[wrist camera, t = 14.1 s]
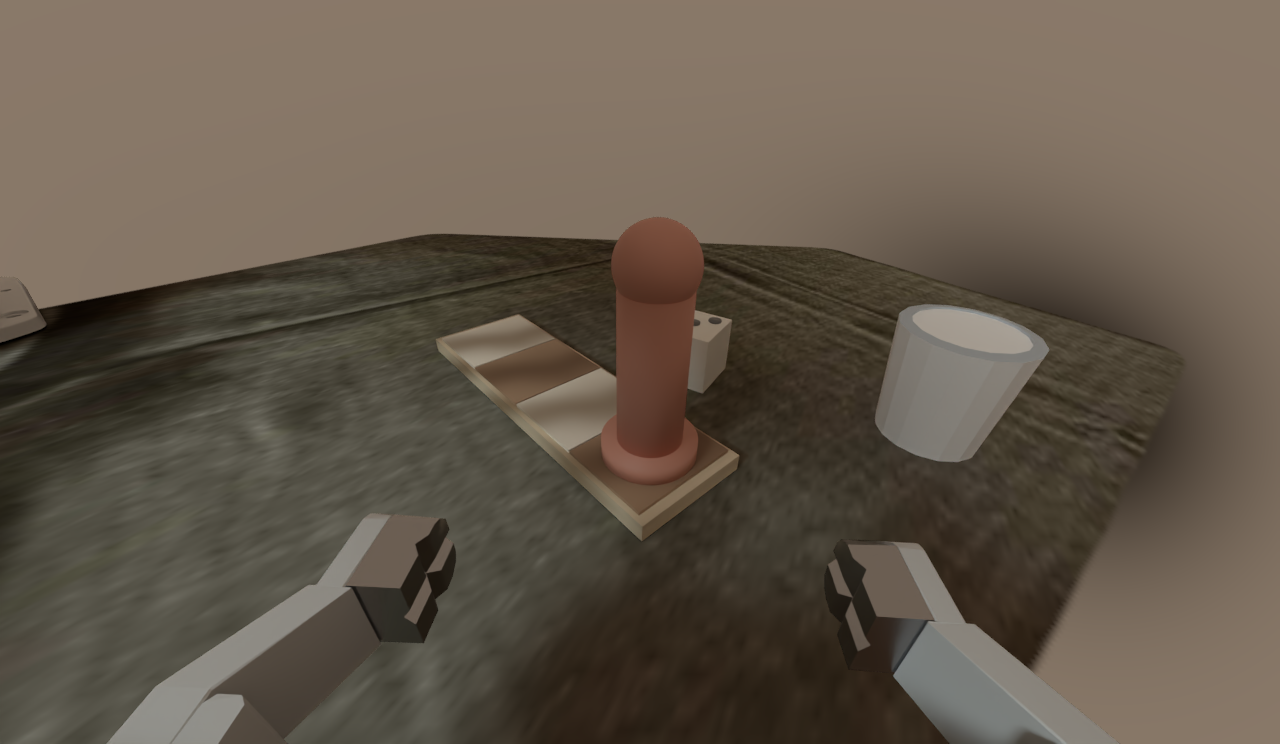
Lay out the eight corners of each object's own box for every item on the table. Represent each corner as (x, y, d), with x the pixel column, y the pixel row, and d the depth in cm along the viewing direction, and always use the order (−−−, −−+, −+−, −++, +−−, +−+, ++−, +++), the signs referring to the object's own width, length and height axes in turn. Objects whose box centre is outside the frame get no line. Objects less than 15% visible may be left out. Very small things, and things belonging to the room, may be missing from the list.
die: (651, 377, 33) (653, 325, 30) (677, 354, 35) (681, 305, 33) (702, 394, 31) (708, 341, 29) (725, 368, 34) (732, 318, 32)
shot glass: (993, 424, 29) (1049, 323, 25) (985, 488, 24) (1053, 376, 20) (877, 386, 32) (911, 293, 28) (850, 436, 27) (886, 332, 24)
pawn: (582, 446, 24) (569, 215, 18) (650, 410, 27) (660, 199, 21) (646, 501, 21) (658, 245, 15) (716, 453, 24) (750, 221, 18)
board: (438, 350, 35) (435, 336, 34) (519, 324, 39) (518, 312, 38) (641, 541, 21) (642, 523, 20) (736, 469, 25) (739, 452, 24)
